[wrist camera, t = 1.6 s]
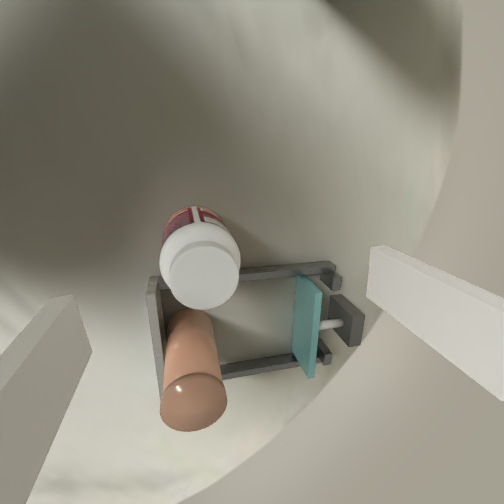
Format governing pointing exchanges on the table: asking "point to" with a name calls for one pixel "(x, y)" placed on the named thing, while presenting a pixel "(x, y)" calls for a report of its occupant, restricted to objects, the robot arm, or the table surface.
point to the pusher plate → (321, 322)
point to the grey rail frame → (245, 274)
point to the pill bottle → (199, 258)
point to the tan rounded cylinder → (191, 374)
